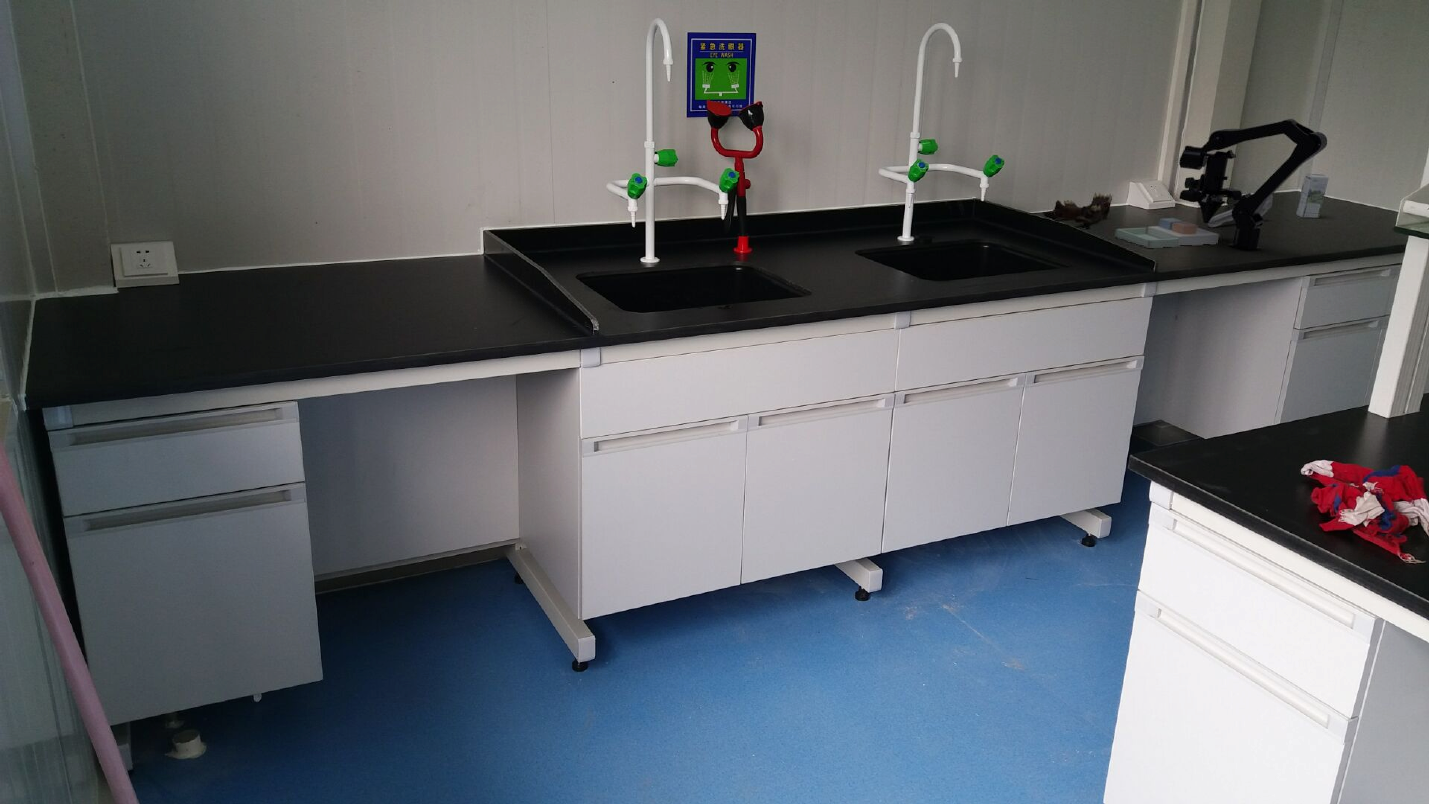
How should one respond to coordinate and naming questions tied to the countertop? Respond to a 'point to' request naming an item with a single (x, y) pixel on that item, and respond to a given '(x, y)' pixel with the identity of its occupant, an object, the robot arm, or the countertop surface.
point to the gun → (1229, 217)
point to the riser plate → (1184, 236)
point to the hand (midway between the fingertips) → (1205, 222)
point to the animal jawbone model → (1082, 210)
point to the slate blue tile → (1168, 223)
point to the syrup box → (1312, 195)
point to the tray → (1144, 238)
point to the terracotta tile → (1184, 228)
